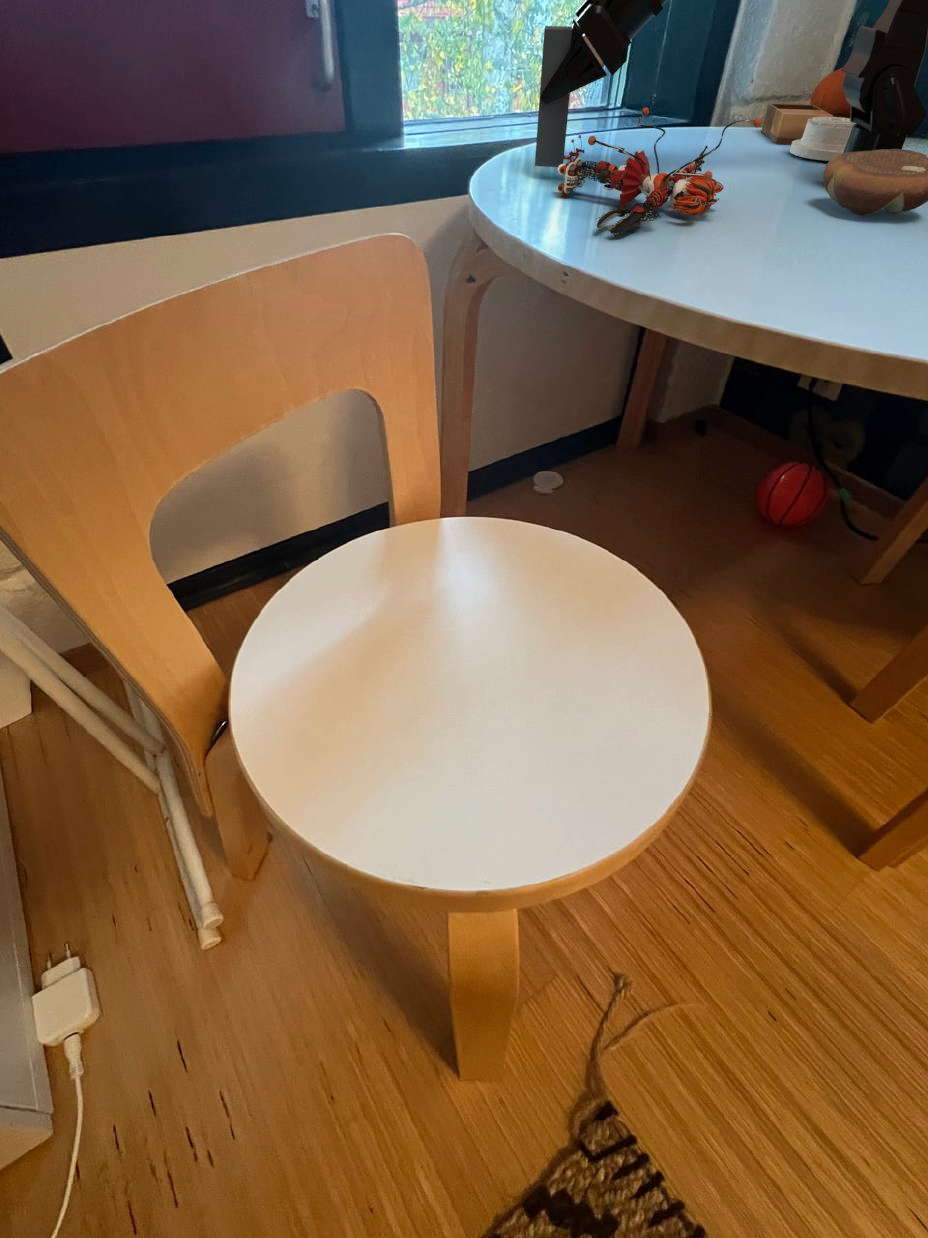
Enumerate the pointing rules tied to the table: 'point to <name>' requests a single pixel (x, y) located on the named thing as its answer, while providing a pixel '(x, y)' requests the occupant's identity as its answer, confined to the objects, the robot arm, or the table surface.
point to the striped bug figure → (644, 183)
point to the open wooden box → (789, 121)
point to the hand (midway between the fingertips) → (543, 97)
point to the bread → (878, 180)
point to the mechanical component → (823, 138)
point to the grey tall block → (555, 112)
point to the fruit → (832, 95)
